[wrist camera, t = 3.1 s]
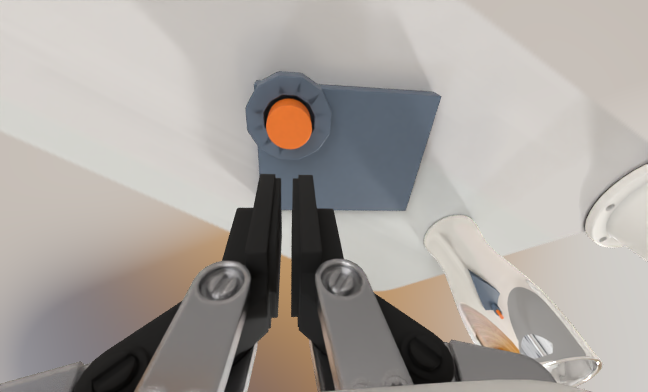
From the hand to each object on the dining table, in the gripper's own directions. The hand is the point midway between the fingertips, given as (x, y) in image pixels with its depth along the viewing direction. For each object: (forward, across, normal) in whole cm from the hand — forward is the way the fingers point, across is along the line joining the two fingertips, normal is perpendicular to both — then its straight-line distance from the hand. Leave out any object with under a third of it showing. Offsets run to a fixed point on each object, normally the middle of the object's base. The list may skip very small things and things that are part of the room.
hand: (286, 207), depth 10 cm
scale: (+13, -4, +4) cm, 14 cm away
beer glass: (+13, -18, +14) cm, 26 cm away
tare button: (+10, 0, 0) cm, 10 cm away
